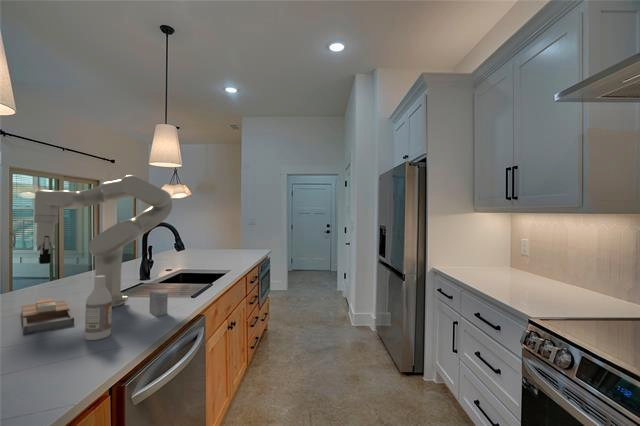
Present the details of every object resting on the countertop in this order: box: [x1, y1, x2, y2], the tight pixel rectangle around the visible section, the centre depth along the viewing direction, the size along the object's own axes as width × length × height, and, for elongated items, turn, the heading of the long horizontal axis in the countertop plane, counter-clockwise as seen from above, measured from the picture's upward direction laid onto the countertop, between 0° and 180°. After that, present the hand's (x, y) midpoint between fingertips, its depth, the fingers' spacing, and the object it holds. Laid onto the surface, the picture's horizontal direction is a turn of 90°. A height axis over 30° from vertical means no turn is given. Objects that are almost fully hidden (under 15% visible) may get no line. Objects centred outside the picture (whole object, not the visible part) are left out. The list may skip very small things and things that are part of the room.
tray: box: [22, 310, 75, 335], centre depth 109 cm, size 12×13×2 cm
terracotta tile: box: [35, 298, 55, 307], centre depth 121 cm, size 5×5×2 cm
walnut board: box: [21, 299, 71, 324], centre depth 119 cm, size 16×13×3 cm
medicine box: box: [148, 289, 169, 317], centre depth 125 cm, size 8×4×9 cm, turn 47°
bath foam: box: [84, 275, 113, 341], centre depth 100 cm, size 7×7×20 cm
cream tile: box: [37, 302, 56, 313], centre depth 117 cm, size 5×5×2 cm
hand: (44, 262), depth 127 cm, fingers closed
